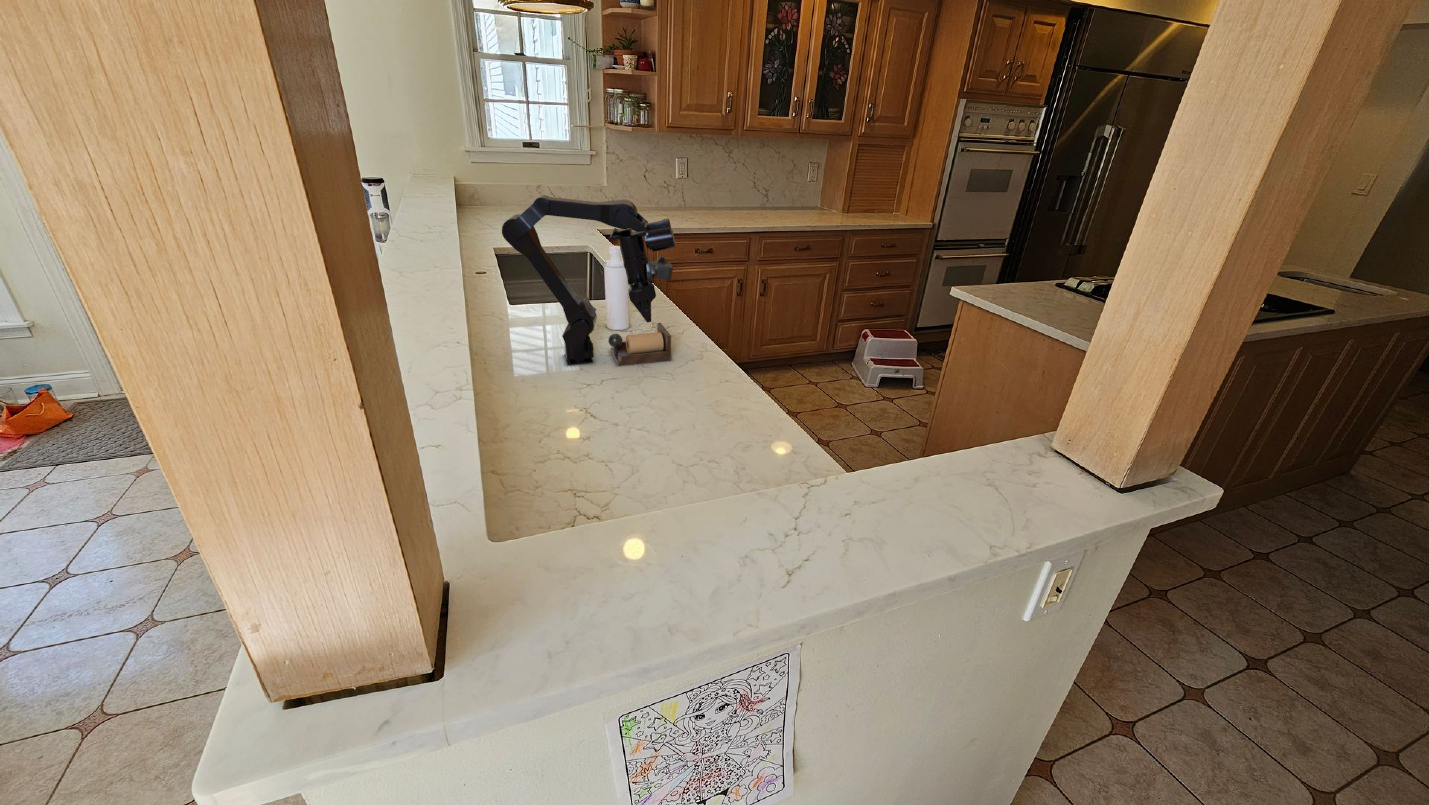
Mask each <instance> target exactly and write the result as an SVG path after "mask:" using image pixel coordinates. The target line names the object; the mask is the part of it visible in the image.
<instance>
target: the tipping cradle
mask: <svg viewBox="0 0 1429 805" xmlns="http://www.w3.org/2000/svg"><path fill="white" fill-rule="evenodd" d="M656 326H657V327H656V328H657V329H656V332H661V334H662V336H663V343H664V347H663V351H657V352H647V353H637V354H628V352H627V348H626V340H625V341H624V340H623V337H622V336H621V335H620V334H619V333H612V334H610V335H609V336H608V339H607V340H608V344H609V346H610V348H609V349H610V353H611V355H612V357H613V359H614V361H615V363H616V365H617V366H618V367H620V366H629V365H630V366H631V365H640V364H648V363H659V362H667V361H668V362H669V361H672V335H671V334H670V332H669V331H668V330H667V328H666V327H665V326H664V325H663V324H662V323H661V322H657V324H656Z"/></svg>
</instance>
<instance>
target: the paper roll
mask: <svg viewBox="0 0 1429 805" xmlns="http://www.w3.org/2000/svg"><path fill="white" fill-rule="evenodd" d="M625 341H626V348H627V352H628V354H637V353H647V352H657V351H663V347H664V343H663V336H662V334H661V332H657V331H656V332H648V333H647V332H646V333H637V334H636V333H635V334H626V335H625Z"/></svg>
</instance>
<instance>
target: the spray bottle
mask: <svg viewBox="0 0 1429 805" xmlns="http://www.w3.org/2000/svg"><path fill="white" fill-rule="evenodd" d="M608 254H609V259H607V260H606V261H605V262H603V271H604V294H605V296H604V297H605V318H606V328H607V329H609V330H611V331H612V330H613V331H623V330H627V329H628V328H630V298H629V293H628V289H629V288H630V287H629V285H628V280H627V275H626V270H625V268H624V263H623V258H622V254H621V250H620V246H619V245H609V246H608Z"/></svg>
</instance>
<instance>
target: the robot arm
mask: <svg viewBox="0 0 1429 805" xmlns="http://www.w3.org/2000/svg"><path fill="white" fill-rule="evenodd" d="M545 216H550V217H560V218H569V219H578V220H579V219H580V220H589V221H596V222H599V223H602V224H604V225H607V226H609V227H611V228H613V230H612V233H611V234H610V236H609V239H608V240H609V241H610V242H613V241H618V244H619V245H618V246H620V250H621V254H622V255H621V259H623V263H624V268H625V270H626V275H627V280H628V286H629V287H628V288H629V289H628V293H629V302H630V303H631V304H632V305H633V306H634V307H635V308H636V310H637V311H638V312H639V313H640V315H641V317H642V318H643V319H644V321H645V322H646V323H651V322H652V302H653V301H654V300H655V299H656V297H657V292H656V288H655V284H654V283H653V282H654V279H660V280H661V279H662V280H665V281H672V277H673V271H674V265H673V264H672V263H670V262H667V259H666V257H665V256H660V255H659V256H658V258H657V259H656V260H649V256H648V255H647V252H646V249H649V250H650V251H651V252H655V253H656V252H661V251H665V250H670V249H676V248H677V247H676V239H675V235H674V230H672V225H671V223H670V222H671V221H670V218H665V219H662V220H657V221H653V222H649V220H647V219H646V218H645V217H643V215H641V214H640V213H639V212H638V208H637V206H636V204H635V203H634V202H633V201H631V200H629V199H615V200H612V199H611V200H606V201H589V200H581V199H572V198H562V197H555V196H549V195H546V194H542V195H540V196H537V198H536V199H535V200H534V201H533V202H532V204H531V205H529V207H528V208H526V209H525V210H524V211H523V212H522V213H520V214H519V213H518V214H514V215H512V216H511V217H509V218H508V219H507V220H505V221H504V222H503V224H502V227H501V235H502V237H503V239H504V240H505V242H507V243H508V244H509V245H510V246H511V247H512V248H513V249H514V250H515V251H516V252H518V253H519V254H521V255H522V256H524V257H525V258H526V259H527V260H528V262H529V263H530V265H531V266H532V267H533V269H534V270H535V272H536V273H537V274H538V275H539V277H540V278H541V279H542V281H543V282H544V284H545V285H546V286H547V288H548V289H549V290H550V292H551V293H552V295H553V296H554V298H556V300H557V301H558V303H559V304H560V306H561V308H562V311H563V313H564V316H565V319H566V322H567V324H566V326H565V329H564V331H563V333H562V336H561V337H562V339H563V344H564V354H563V356H564V360H565V363H566V365H568V366H574V365H583V364H584V365H585V364H593V363H594V360H593V358H594V343H593V341H592V339H591V337H590V334H592V333H593V331H594V329H595V326H596V323H597V320H598V315H597V308H596V307H594V306H593V304H592V303H591V301H590V299H589V298H588V297H587V296H585V298H583V299H582V297H579V296H578V295H577V294H576V293H575V291H574V289H572V288H571V285H570V284H569V283H568V282H567V280H566V278H564V276H563V275H562V273H561V272H560V271H559V269H558V267H557V266H556V265H555V263H554V262H553V260H552V259H551V258H550V256H549V255H548V253H547V252H546V250H545V249H544V248H543V246H542V244H541V241H540V238H539V235H538V234H539V233H538V232H537V230H536V228H535V225H536V224H537V223H538V222H539V221H541V220H542V219H543V218H544V217H545ZM643 236H644V238H643ZM644 243H645V244H644ZM645 245H646V248H645Z"/></svg>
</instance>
